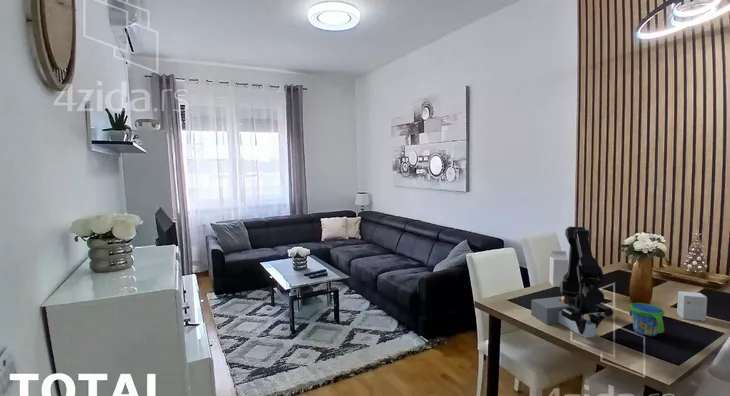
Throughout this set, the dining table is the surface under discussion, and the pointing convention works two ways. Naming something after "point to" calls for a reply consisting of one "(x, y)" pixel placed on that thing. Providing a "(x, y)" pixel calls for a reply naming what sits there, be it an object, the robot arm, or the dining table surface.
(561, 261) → the milk carton
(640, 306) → the snack cup
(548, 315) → the block
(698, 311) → the small box
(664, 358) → the dining table surface
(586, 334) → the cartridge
